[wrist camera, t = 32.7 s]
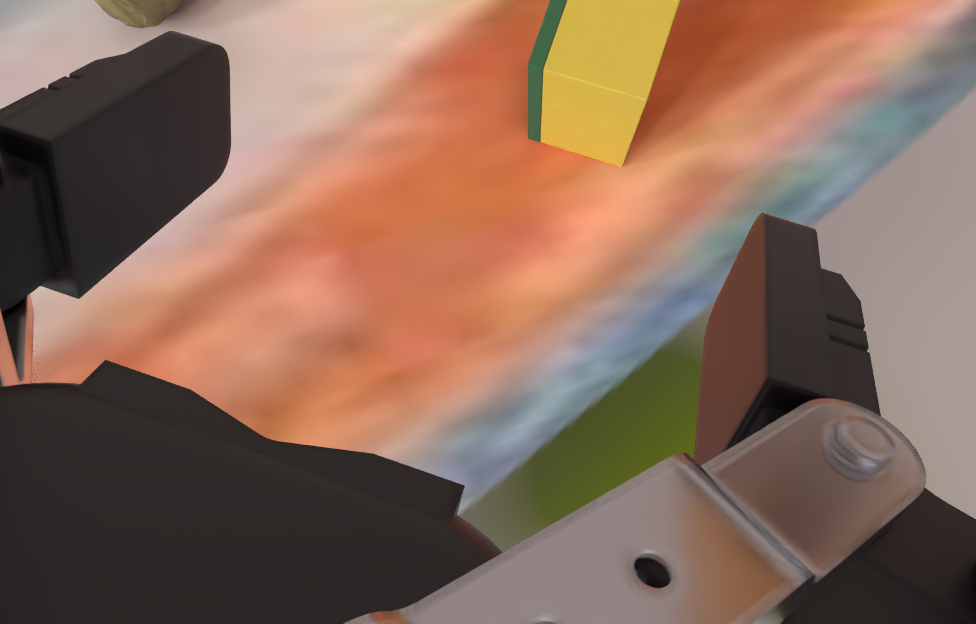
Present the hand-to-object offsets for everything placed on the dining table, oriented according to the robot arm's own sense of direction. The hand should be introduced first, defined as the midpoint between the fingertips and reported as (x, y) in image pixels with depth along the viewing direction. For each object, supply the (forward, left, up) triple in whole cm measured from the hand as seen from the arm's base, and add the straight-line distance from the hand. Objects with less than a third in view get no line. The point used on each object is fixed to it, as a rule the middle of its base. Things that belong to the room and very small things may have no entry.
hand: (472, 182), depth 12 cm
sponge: (-6, +10, -25) cm, 27 cm away
